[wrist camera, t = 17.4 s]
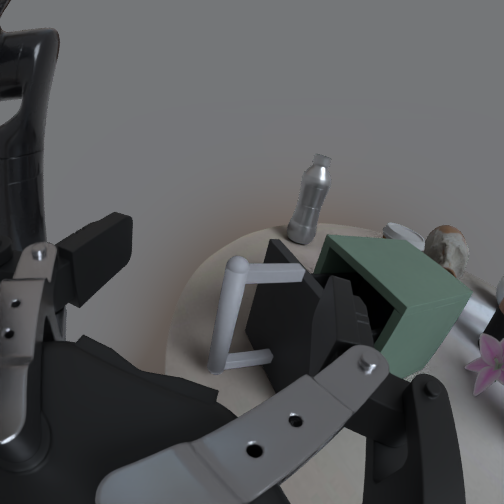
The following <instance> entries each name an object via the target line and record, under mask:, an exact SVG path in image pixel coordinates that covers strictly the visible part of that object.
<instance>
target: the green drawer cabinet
mask: <svg viewBox="0 0 504 504" xmlns="http://www.w3.org/2000/svg"><path fill="white" fill-rule="evenodd" d="M353 272H358V273H359V274H360V275H361V276H362V277H363V278H364V279H365V280H366V281H367V282H368V283H369V284H371V285H372V286H373V287H374V288H375V289H376V290H377V291H378V292H379V293H380V294H381V295H382V296H383V297H384V298H385V299H386V300H387V301H388V302H389V303H390V304H391V305H392V306H393V307H394V308H395V309H394V311H393V313H392V315H391V316H390V318H389V320H388V322H387V323H386V325H385V327H384V329H383V330H382V332H381V334H380V335H379V337H378V339H377V341H376V342H375V344H374V348H375V349H376V350H377V351H379V352H380V353H381V354H382V355H383V356H384V357H385V358H386V360H387V361H388V364H389V372H390V373H391V374H393V375H395V376H397V377H399V378H402V379H403V378H405V377H407V376H409V375H411V374H413V373H415V372H417V371H419V370H421V369H423V368H424V367H425V365H426V364H427V363H428V361H429V360H430V359H431V357H432V356H433V355H434V353H435V352H436V350H437V349H438V347H439V346H440V345H441V343H442V342H443V340H444V339H445V337H446V336H447V334H448V333H449V331H450V330H451V328H452V327H453V325H454V323H455V322H456V320H457V319H458V317H459V315H460V314H461V312H462V310H463V309H464V307H465V305H466V304H467V302H468V300H469V298H470V297H471V295H472V293H473V291H471V290H470V289H469V288H468V287H467V286H465V285H464V284H463V283H462V282H460V281H459V280H458V279H457V278H455V277H454V276H453V275H452V274H450V273H449V272H448V271H447V270H445V269H444V268H443V267H442V266H440V265H439V264H438V263H436V262H435V261H434V260H432V259H431V258H430V257H428V256H427V255H426V254H424V253H423V252H422V251H420V250H419V249H418V248H416V247H415V246H414V245H412V244H411V243H409V242H408V241H407V240H398V239H384V238H370V237H356V236H341V235H327V236H326V239H325V242H324V244H323V247H322V250H321V253H320V256H319V259H318V261H317V264H316V267H315V270H314V272H313V274H325V273H353Z"/></svg>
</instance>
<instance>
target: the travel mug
mask: <svg viewBox="0 0 504 504" xmlns="http://www.w3.org/2000/svg"><path fill="white" fill-rule="evenodd" d="M483 333H485V334H488V335H490V336H492V337H494V338H495V339H497V340H498V341H499V342H501V340H502V339H503V338H504V298H503V299H502V301H501V303H500V304H499V306H498V308H497V310H496V312H495V313H494V315H493V317H492V319H491V320H490V322H489V324H488V325H487V327H486V329H485V330H484V332H483ZM478 345H479V347H480V338H479V340H478Z"/></svg>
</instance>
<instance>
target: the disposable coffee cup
mask: <svg viewBox="0 0 504 504" xmlns="http://www.w3.org/2000/svg"><path fill="white" fill-rule="evenodd" d="M383 238H384V239H398V240H407V241H408V242H409V243H411V244H412V245H414V246H415V247H416V248H418V249H419V250H420V251H422V250H424V249H425V247H424V244H425V240H424V238H423V237H422V236H420V235H419V234H418V233H416V232H415V231H413V230H411V229H409V228H407V227H405V226H402V225H399V224H396V223H388V224H387V225H386V227H384V228H383Z"/></svg>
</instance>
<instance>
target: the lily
mask: <svg viewBox="0 0 504 504" xmlns="http://www.w3.org/2000/svg"><path fill="white" fill-rule="evenodd" d="M480 353H481V357H480V358H478V359H476V360H474V361H472V362H471V363H469V364H468V365H467V366H465V369H467V370H470V371H474V372H479V373H478V376H477V379H476V382H475V386H474V392H473V395H474V396H477V395H479V394H480V393H481V392H483V391H484V390H485V389H486V388H487V387H489V386H490V385H491V384H492V383H493V382H496V380H497V381H499V382H500V383H501V384H503V385H504V338H503V339H502V340H501V342H499V341H498V340H497V339H495V338H494V337H492V336H490V335H488V334H485V333H482V334H480Z"/></svg>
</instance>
